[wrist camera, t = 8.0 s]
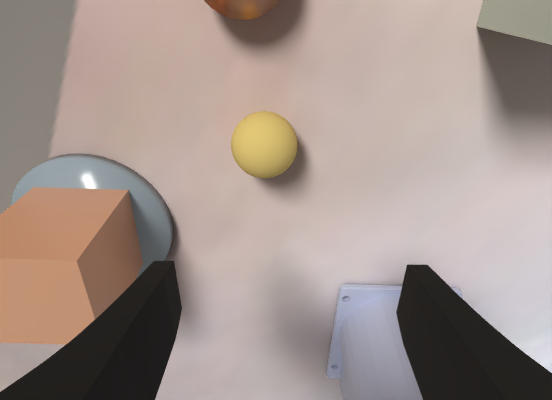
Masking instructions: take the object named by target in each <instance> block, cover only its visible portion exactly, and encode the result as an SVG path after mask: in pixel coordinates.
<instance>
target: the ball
mask: <svg viewBox="0 0 552 400" xmlns="http://www.w3.org/2000/svg"><path fill="white" fill-rule="evenodd" d="M231 148H232V154H233V157H234V159H235V161H236V163H237V164H238V165H239V167H240V168H241V169H242V170H243V171H245V172H246V173H248V174H249V175H252V176H254V177H258V178H271V177H275V176H277V175H280V174H281V173H283V172H284V171H286V170H287V169H288V168H289V167H290V165H291V164H292V162H293V161H294V158H295V156H296V153H297V137H296V134H295V131H294V129H293V127H292V126H291V125H290V123H289V122H288V121H287V120H286V119H285V118H283V117H282V116H280V115H278V114H276V113H273V112H266V111H261V112H256V113H253V114H250V115H248V116H247V117H245V118H244V119H243V120H242V121H241V122H240V123H239V124H238V125H237V127H236V128H235V130H234V133H233V136H232V141H231Z"/></svg>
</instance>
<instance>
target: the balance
mask: <svg viewBox="0 0 552 400" xmlns="http://www.w3.org/2000/svg"><path fill="white" fill-rule="evenodd" d="M204 1H205V2H206V3H207V4H208V5H209V6H210V7H211V8H213V9H214V10H215V11H217V12H218V13H220V14H222V15H224V16H227V17H229V18H233V19H240V20H247V19H253V18H257V17H260V16H262V15H264V14H266V13H267V12H269V11H270V10H272V9H273V8H274V7H275V6H276V5H277V4H278V3H279V1H280V0H204Z"/></svg>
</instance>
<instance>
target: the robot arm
mask: <svg viewBox="0 0 552 400" xmlns="http://www.w3.org/2000/svg"><path fill="white" fill-rule="evenodd" d="M345 296H348V297H346V298H344V297H345ZM181 310H182V307H181V301H180V295H179V289H178V283H177V277H176V271H175V265H174V261H154V262H152V263H151V264H150V265H149V266H148V267H147V268H146V269H145V270H144V271H143V273H142V274H141V275H140V276H139V277H138V278H137V279H136V280H135V281H134V282H133V283H132V284H131V285H130V286H129V287H128V288H127V289H126V290H125V291H124V292H123V293H122V294H121V295H120V296H119V297H118V298H117V299H116V300H115V301H114V302H113V303H112V304H111V305H110V306H109V307H108V308H107V309H106V310H105V311H104V312H103V313H102V314H100V315H99V316H98V317H97V318H96V319H95V320H94V321H93V322H92V323H90V324H89V325H88V326H87V327H86V328H85V329H84V330H83V331H82V332H80V333H79V334H78V335H77V336H76V337H75V338H73V339H72V340H71V341H70V342H69V343H67V344H66V345H65V346H64V347H63V348H61V349H60V350H59V351H57V352H56V353H55V354H53V355H52V356H51V357H50V358H48V359H47V360H46V361H44V362H43V363H42V364H40V365H39V366H37V367H36V368H35V369H33V370H32V371H30V372H29V373H27V374H26V375H24V376H23V377H22V378H20V379H19V380H17V381H16V382H14V383H13V384H11V385H10V386H8V387H7V388H6V389H4V390H3V391H1V392H0V400H155V398H156V395H157V392H158V389H159V386H160V383H161V380H162V377H163V375H164V372H165V369H166V366H167V363H168V360H169V357H170V354H171V351H172V348H173V345H174V342H175V339H176V334H177V330H178V325H179V320H180V315H181ZM326 373H327V377H328V378H330V379H340V383H341V390H342V397H343V400H552V373H551V372H549V371H548V370H547V369H545V368H544V367H543V366H541V365H540V364H539V363H537V362H536V361H535V360H533V359H532V358H530V357H529V356H528V355H526V354H525V353H524V352H523V351H521V350H520V349H519V348H518V347H516V346H515V345H514V344H513V343H511V342H510V341H509V340H508V339H507V338H505V337H504V336H503V335H502V334H501V333H500V332H498V331H497V330H496V329H495V328H494V327H492V326H491V325H490V324H489V323H488V322H487V321H486V320H485V319H483V318H482V317H481V316H480V315H479V314H478V313H477V312H476V311H475V310H474V309H473V308H471V307H470V306H469V305H468V304H467V303H466V302H465V301H464V300H463V299H462V293H461V291H460V289H458V288H452V287H450V286H448V285H447V284H446V283H445V282H444V281H443V280H442V279H441V278H440V277H439V276H438V275H437V274H436V273H435V272H434V271H433V270H432V269H431V268H430V267H429V266H428V265H407V268H406V272H405V276H404V281H403V285H402V286H393V285H363V284H344V285H342V286H341V287H340V288H339V292H338V299H337V305H336V311H335V318H334V324H333V331H332V337H331V344H330V350H329V357H328V363H327V369H326Z"/></svg>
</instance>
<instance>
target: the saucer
mask: <svg viewBox="0 0 552 400" xmlns="http://www.w3.org/2000/svg"><path fill="white" fill-rule="evenodd" d="M33 187H49V188H83V189H118V190H129V194H130V199H131V204H132V209H133V214H134V219H135V224H136V229H137V234H138V239H139V245H140V250H141V255H142V260H143V265H142V267H141V269H140V271H139V274H138V276H137V278H138V277H139V276H140V275H141V274H142V273H143V271H144V270H145V269H146V268H147V267H148V266H149V265H150V264H151V263H152V262H154V261H165V259H166V257H167V255H168V252H169V250H170V247H171V244H172V239H173V224H172V219H171V215H170V213H169V210H168V208H167V206H166V204H165V202H164V200H163V199H162V197H161V196H160V194H159V193H158V192H157V191H156V190H155V188H154V187H153V186H152V185H151V184H150V183H149V182H148V181H147V180H145V179H144V178H143V177H142V176H141V175H139V174H138V173H136V172H135V171H133V170H132V169H130V168H128V167H127V166H125V165H123V164H120V163H118V162H116V161H114V160H111V159H108V158H104V157H101V156H96V155H90V154H66V155H60V156H56V157H53V158H50V159H48V160H46V161H44V162H42V163H41V164H39V165H38V166H36V167H35V168H34V169H32V170H31V171H30V172H29V173H27V174H26V175H25V176H24V177H23V178H22V179H21V180H20V182H19V183H18V185H17V187H16V188H15V191H14V193H13V197H12V203H11V205H13V204H14V203H15V202H16V201H17V200H19V199H20V198H21V197H22V196H23V195H25V194H26V193H27V192H28V191H29V190H31V189H32V188H33ZM137 278H136V279H137Z"/></svg>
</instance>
